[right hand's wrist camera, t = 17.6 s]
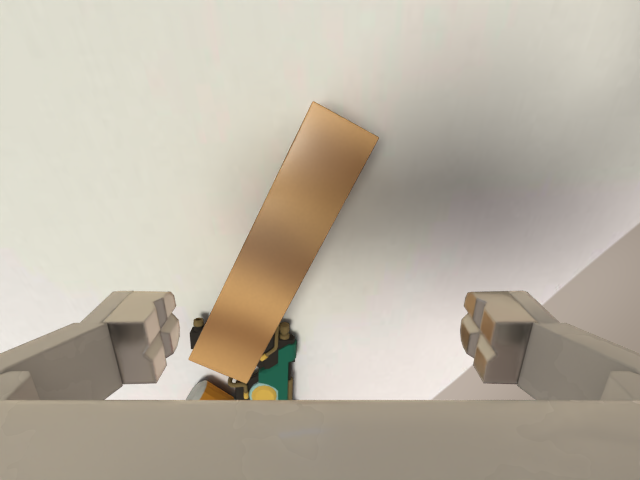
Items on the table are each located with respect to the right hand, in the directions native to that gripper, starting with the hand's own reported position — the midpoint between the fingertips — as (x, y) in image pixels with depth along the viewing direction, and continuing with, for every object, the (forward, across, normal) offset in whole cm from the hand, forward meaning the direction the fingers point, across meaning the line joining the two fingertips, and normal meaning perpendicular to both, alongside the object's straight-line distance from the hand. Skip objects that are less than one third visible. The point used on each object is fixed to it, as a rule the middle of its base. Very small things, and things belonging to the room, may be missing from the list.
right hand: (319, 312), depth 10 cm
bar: (+25, -4, -7) cm, 26 cm away
